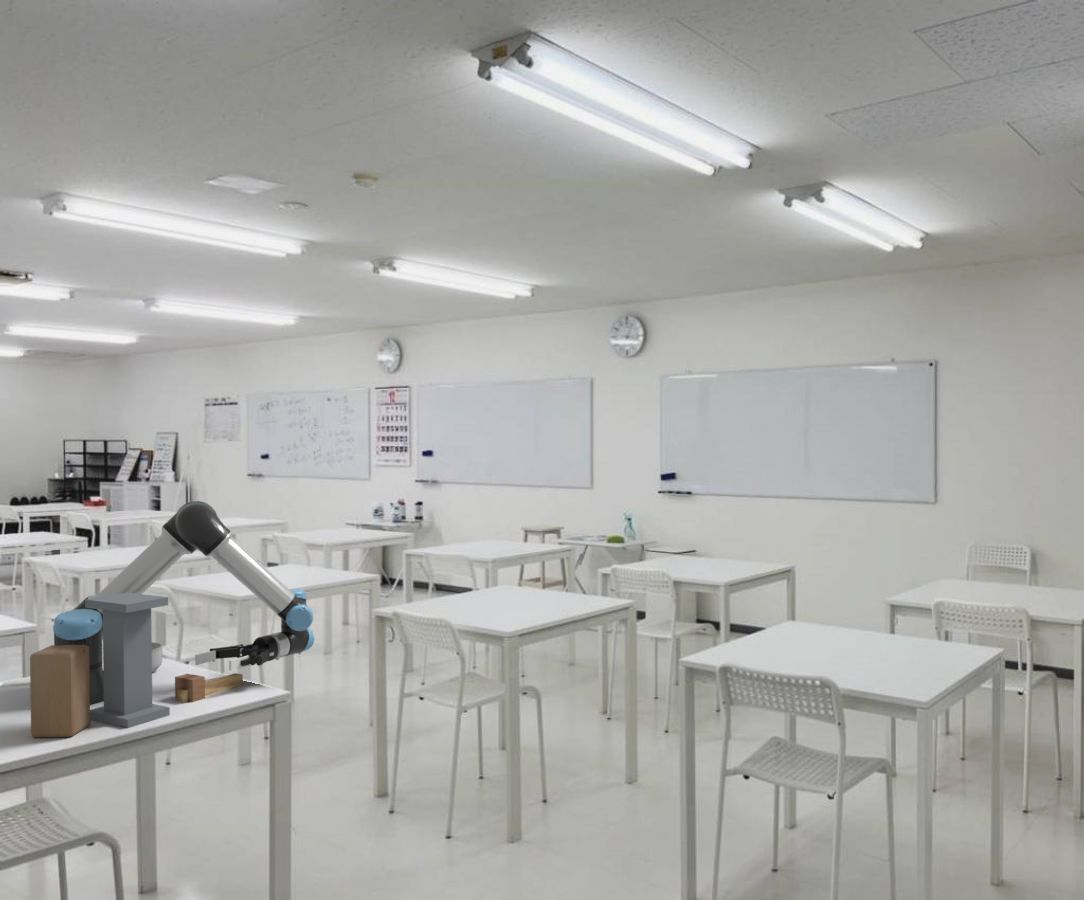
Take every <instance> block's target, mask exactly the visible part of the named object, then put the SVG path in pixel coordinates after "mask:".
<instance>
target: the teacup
mask: <svg viewBox="0 0 1084 900" xmlns="http://www.w3.org/2000/svg"><path fill="white" fill-rule="evenodd" d="M162 663H163V644H162V643H160V642H156V641H155V642H154V641H152V673H155V672H156V671H157V670H158V669H159V668H160V667H161V666H162Z"/></svg>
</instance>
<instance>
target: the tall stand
mask: <svg viewBox="0 0 1084 900" xmlns="http://www.w3.org/2000/svg"><path fill="white" fill-rule="evenodd" d="M85 599H86V598H85ZM165 606H169V597H168V596H161V595H153V594H152V595H151V594H144V593H143V594H135V593H122V594H116V595H110V596H104V597H98V598H92V599H86V600H85V608H92V609H100V610H103V640H102V667H103V679H104V700H103V705H102V706H99V707H96V708H90V721H96V722H101V723H104V724H109V725H113V726H117V727H122V728H127V729H129V728H132V727H135V726H139V725H142V724H145V723H149V722H153V721H155V720H158V719H161V718H164V717H167V716H170V714H171V712H170V711H171V710H170V709H171V708H170V706H167V705H161V704H157V703H153V672H152V642H153V641H152V640H153V639H152V609H155V608H160V607H165Z"/></svg>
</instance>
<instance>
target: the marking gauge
mask: <svg viewBox="0 0 1084 900" xmlns="http://www.w3.org/2000/svg"><path fill="white" fill-rule="evenodd" d="M243 677H244V675H243V674H241V673H236V672H234V673H231V674H228V675H225V676H220V677H217V678H213V679H210V680H206V676H204V675H203V676H202V675H197V674H191V673H184V674H181V675H177V676H175V677H174V696H175V697H174V698H175V699H176V701H178V702H182V703H186V702H191V703H195V702H197V701H202V700H205V699H206V697H207V696H209V695H213V694H216V693H219V692H222V691H226V690H230V689H232V688H235V687H240V686H243V685H244V684H243V683H244V681H243V680H244V678H243Z"/></svg>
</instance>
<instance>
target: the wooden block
mask: <svg viewBox="0 0 1084 900" xmlns="http://www.w3.org/2000/svg"><path fill="white" fill-rule="evenodd" d="M29 665H30V666H29V670H30V673H29V676H30V678H29V679H30V685H29V686H30V688H29V689H30V735H31V737H32V738H37V739H38V738H70V737H73V736H75V735H77V734H78V733H79V732H81V731H83V730H84V729H86V728H87V727H88V726H89V725H90V724H91V720H90V710H91V704H90V677H89V647H88V646H86V645H54V644H53V645H49V646H47V647H45V648H43V649H40V650H37V651H36V652H33V653H31V655H30V656H29Z"/></svg>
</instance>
